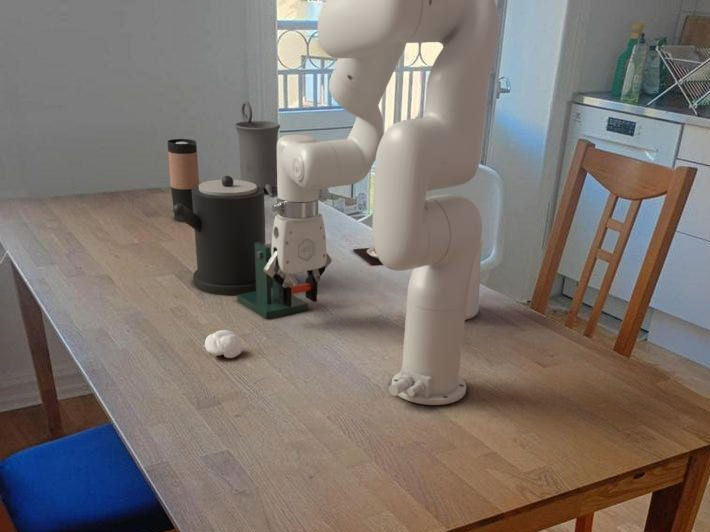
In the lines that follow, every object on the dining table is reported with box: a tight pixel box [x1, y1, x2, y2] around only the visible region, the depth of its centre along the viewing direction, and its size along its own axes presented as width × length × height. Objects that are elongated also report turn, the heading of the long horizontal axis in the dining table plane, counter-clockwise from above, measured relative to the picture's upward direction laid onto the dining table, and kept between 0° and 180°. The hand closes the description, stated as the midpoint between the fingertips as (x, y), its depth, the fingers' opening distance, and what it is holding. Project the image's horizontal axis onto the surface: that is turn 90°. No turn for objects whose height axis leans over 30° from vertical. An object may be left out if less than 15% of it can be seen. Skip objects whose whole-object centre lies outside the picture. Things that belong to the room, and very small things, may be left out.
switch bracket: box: [236, 242, 309, 320], centre depth 160 cm, size 12×10×13 cm
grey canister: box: [234, 100, 281, 197], centre depth 243 cm, size 19×15×25 cm
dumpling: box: [202, 329, 243, 359], centre depth 141 cm, size 7×5×4 cm
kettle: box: [172, 175, 267, 296], centre depth 169 cm, size 20×21×23 cm
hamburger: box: [352, 246, 383, 266], centre depth 194 cm, size 12×12×6 cm
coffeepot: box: [465, 238, 484, 321], centre depth 159 cm, size 11×25×19 cm, turn 168°
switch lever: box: [265, 242, 311, 295], centre depth 156 cm, size 13×5×2 cm, turn 36°
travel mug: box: [167, 138, 200, 223], centre depth 213 cm, size 8×8×20 cm
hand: (298, 301), depth 155 cm, fingers closed on switch lever, 5 cm apart
